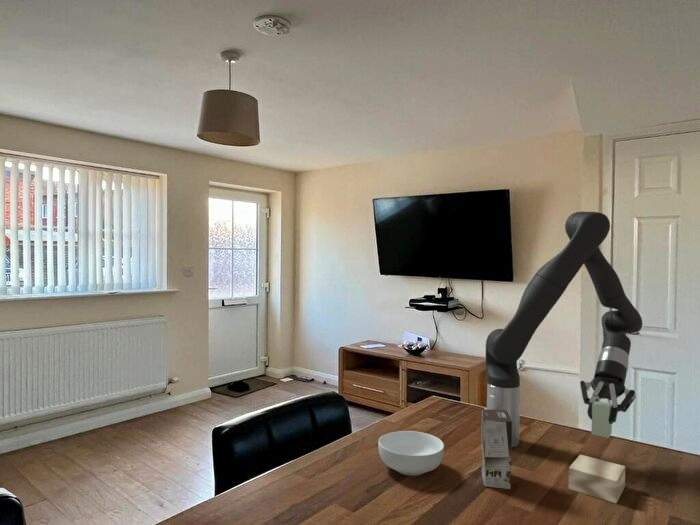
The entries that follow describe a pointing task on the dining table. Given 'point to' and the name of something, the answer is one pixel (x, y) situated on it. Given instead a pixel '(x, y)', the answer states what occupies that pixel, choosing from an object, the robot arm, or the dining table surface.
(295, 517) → the dining table surface
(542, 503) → the dining table surface
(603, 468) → the maple block
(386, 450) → the cereal bowl
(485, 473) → the coffee box
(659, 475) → the dining table surface
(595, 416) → the sage block
